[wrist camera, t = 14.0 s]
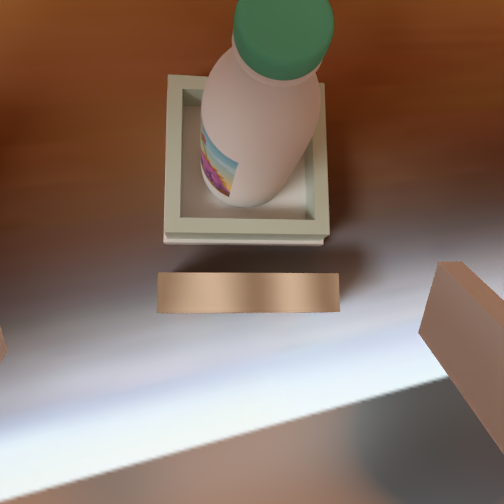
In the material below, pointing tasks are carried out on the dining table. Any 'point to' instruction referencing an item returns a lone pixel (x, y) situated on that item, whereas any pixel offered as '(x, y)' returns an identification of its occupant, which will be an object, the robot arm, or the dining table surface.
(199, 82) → the cradle
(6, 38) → the dining table surface
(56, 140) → the dining table surface
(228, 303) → the board
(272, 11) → the milk bottle
